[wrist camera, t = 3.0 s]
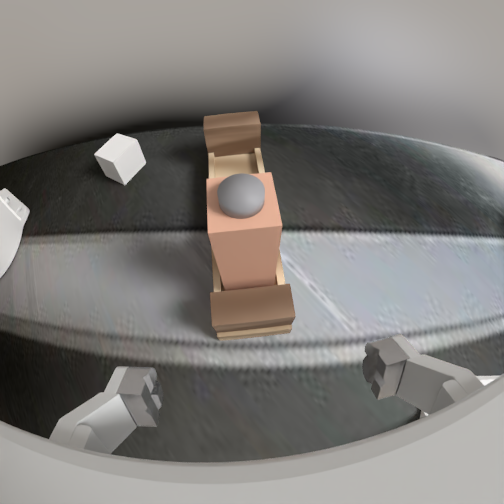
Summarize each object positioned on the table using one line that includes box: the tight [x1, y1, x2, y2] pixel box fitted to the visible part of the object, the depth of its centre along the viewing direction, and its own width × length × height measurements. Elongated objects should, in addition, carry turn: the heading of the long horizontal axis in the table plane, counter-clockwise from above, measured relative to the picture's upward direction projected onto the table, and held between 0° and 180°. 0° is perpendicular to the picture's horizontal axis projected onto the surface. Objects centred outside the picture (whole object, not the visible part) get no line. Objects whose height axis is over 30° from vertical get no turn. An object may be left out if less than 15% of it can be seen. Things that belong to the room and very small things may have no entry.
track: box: [204, 111, 295, 341], centre depth 30 cm, size 27×7×7 cm, turn 6°
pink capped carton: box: [207, 172, 282, 291], centre depth 23 cm, size 5×5×12 cm
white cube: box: [94, 134, 146, 185], centre depth 37 cm, size 5×5×5 cm
